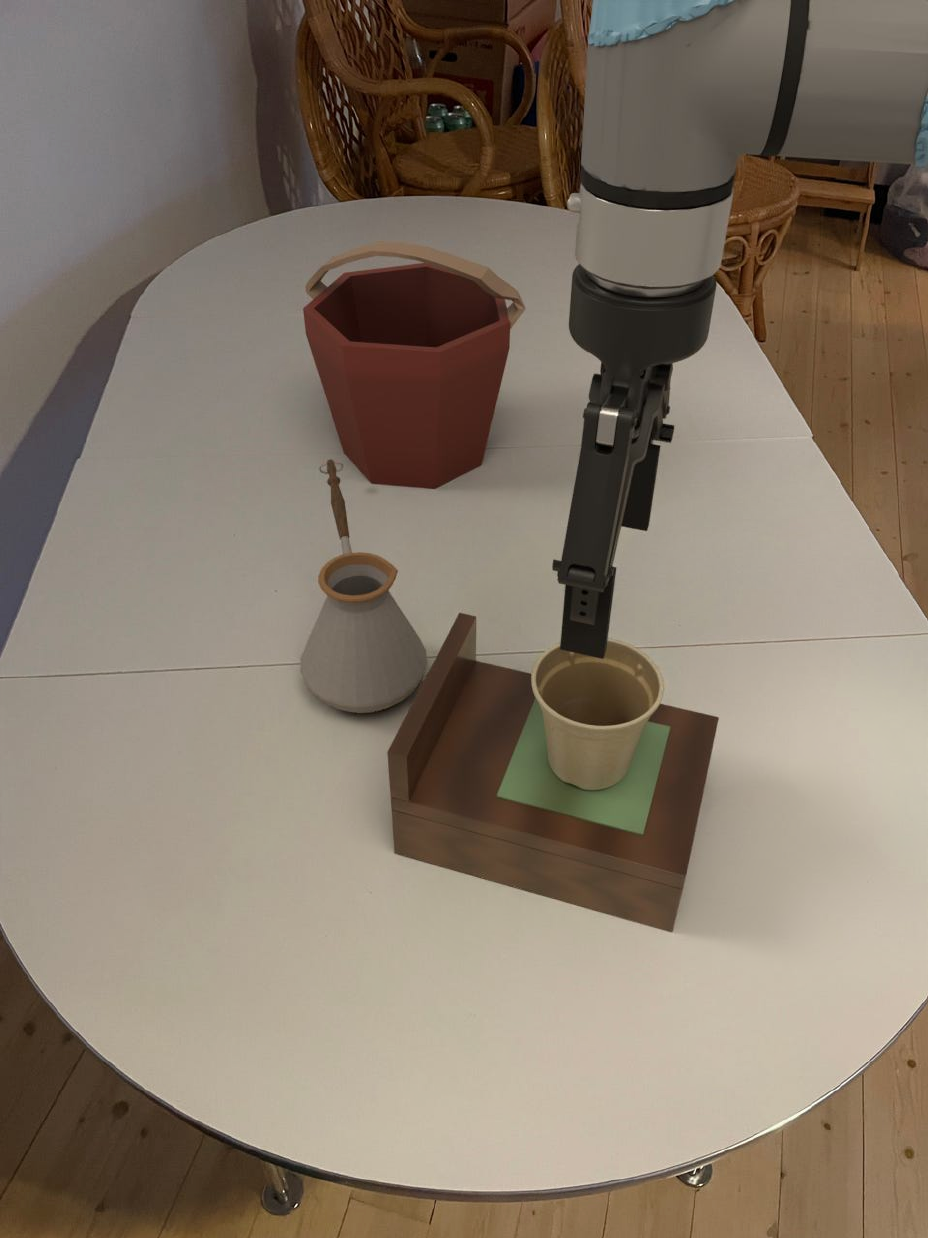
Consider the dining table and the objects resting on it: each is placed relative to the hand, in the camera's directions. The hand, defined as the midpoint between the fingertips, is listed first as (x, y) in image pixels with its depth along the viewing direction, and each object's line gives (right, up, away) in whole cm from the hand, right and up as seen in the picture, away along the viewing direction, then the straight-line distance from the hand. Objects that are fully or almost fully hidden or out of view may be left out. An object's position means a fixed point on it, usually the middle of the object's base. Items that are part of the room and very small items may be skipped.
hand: (607, 583), depth 68 cm
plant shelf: (-2, -18, +17) cm, 25 cm away
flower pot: (0, -13, +12) cm, 18 cm away
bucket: (-15, +18, +58) cm, 62 cm away
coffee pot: (-20, -5, +32) cm, 38 cm away
